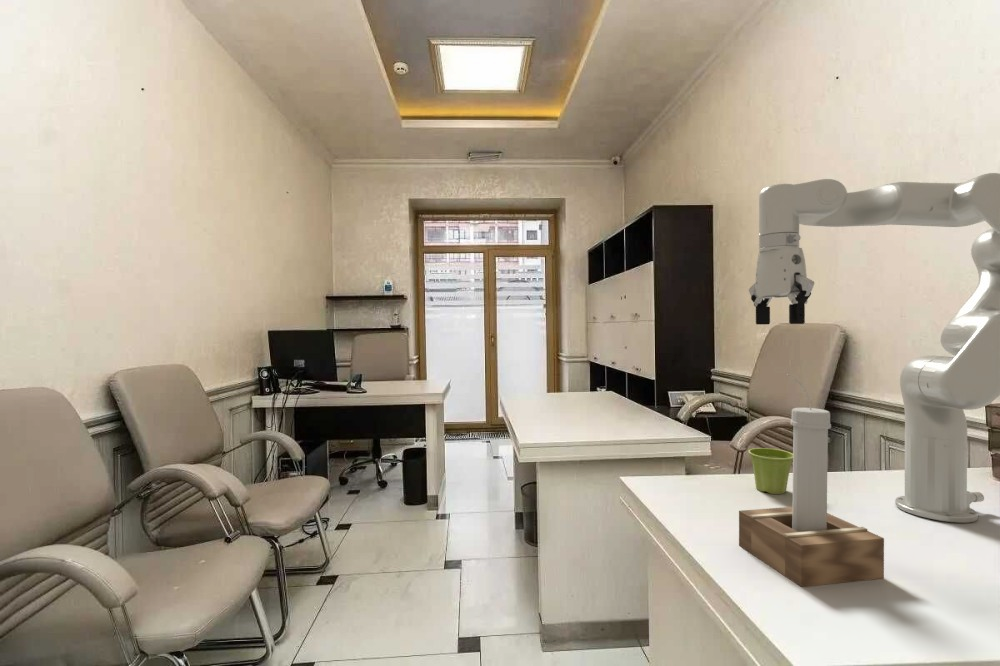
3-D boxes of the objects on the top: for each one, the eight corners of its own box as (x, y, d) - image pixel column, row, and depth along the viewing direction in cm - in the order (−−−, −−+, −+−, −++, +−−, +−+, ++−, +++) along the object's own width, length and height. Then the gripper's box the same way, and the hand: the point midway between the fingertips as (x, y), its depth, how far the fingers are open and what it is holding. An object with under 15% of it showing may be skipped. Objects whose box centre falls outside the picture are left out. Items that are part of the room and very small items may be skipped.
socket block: (810, 539, 88) (810, 503, 88) (883, 578, 74) (883, 536, 74) (739, 545, 86) (738, 508, 86) (801, 586, 72) (801, 543, 72)
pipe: (835, 569, 77) (838, 376, 77) (791, 565, 78) (793, 375, 78) (820, 553, 82) (822, 373, 82) (779, 550, 84) (781, 372, 83)
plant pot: (803, 497, 110) (803, 458, 110) (760, 497, 110) (761, 458, 110) (780, 483, 119) (780, 447, 119) (740, 483, 120) (741, 447, 119)
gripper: (827, 237, 99) (828, 323, 99) (765, 251, 116) (765, 324, 116) (795, 236, 97) (795, 323, 98) (736, 250, 114) (736, 324, 114)
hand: (779, 324), depth 107 cm, fingers open, 9 cm apart
